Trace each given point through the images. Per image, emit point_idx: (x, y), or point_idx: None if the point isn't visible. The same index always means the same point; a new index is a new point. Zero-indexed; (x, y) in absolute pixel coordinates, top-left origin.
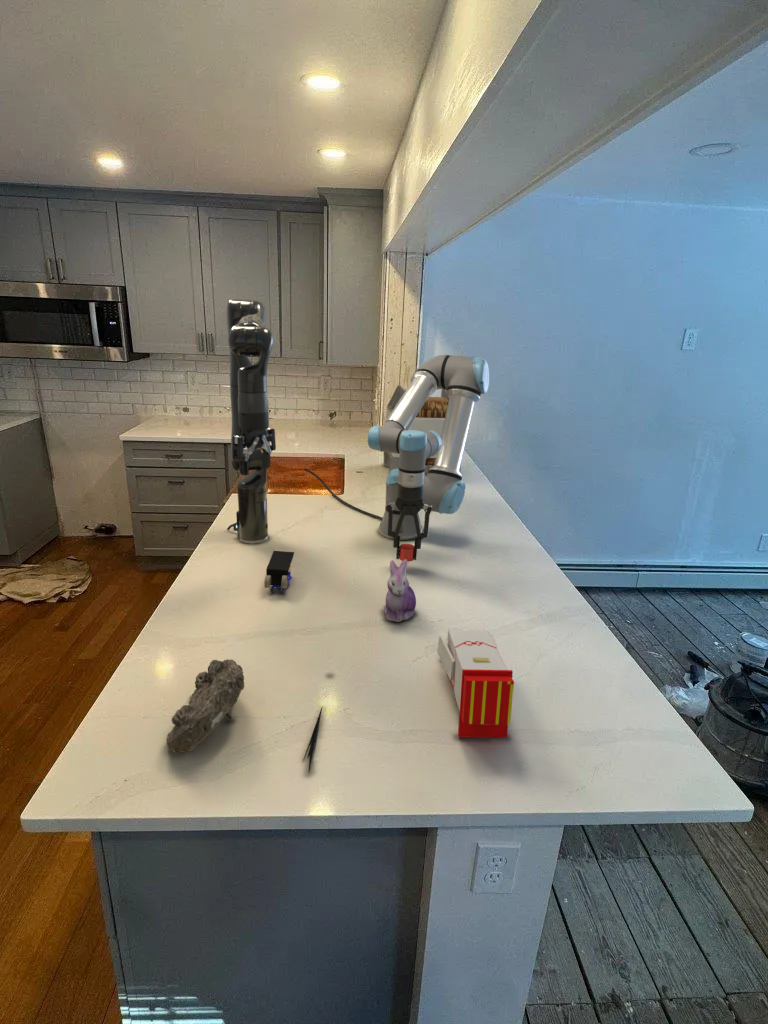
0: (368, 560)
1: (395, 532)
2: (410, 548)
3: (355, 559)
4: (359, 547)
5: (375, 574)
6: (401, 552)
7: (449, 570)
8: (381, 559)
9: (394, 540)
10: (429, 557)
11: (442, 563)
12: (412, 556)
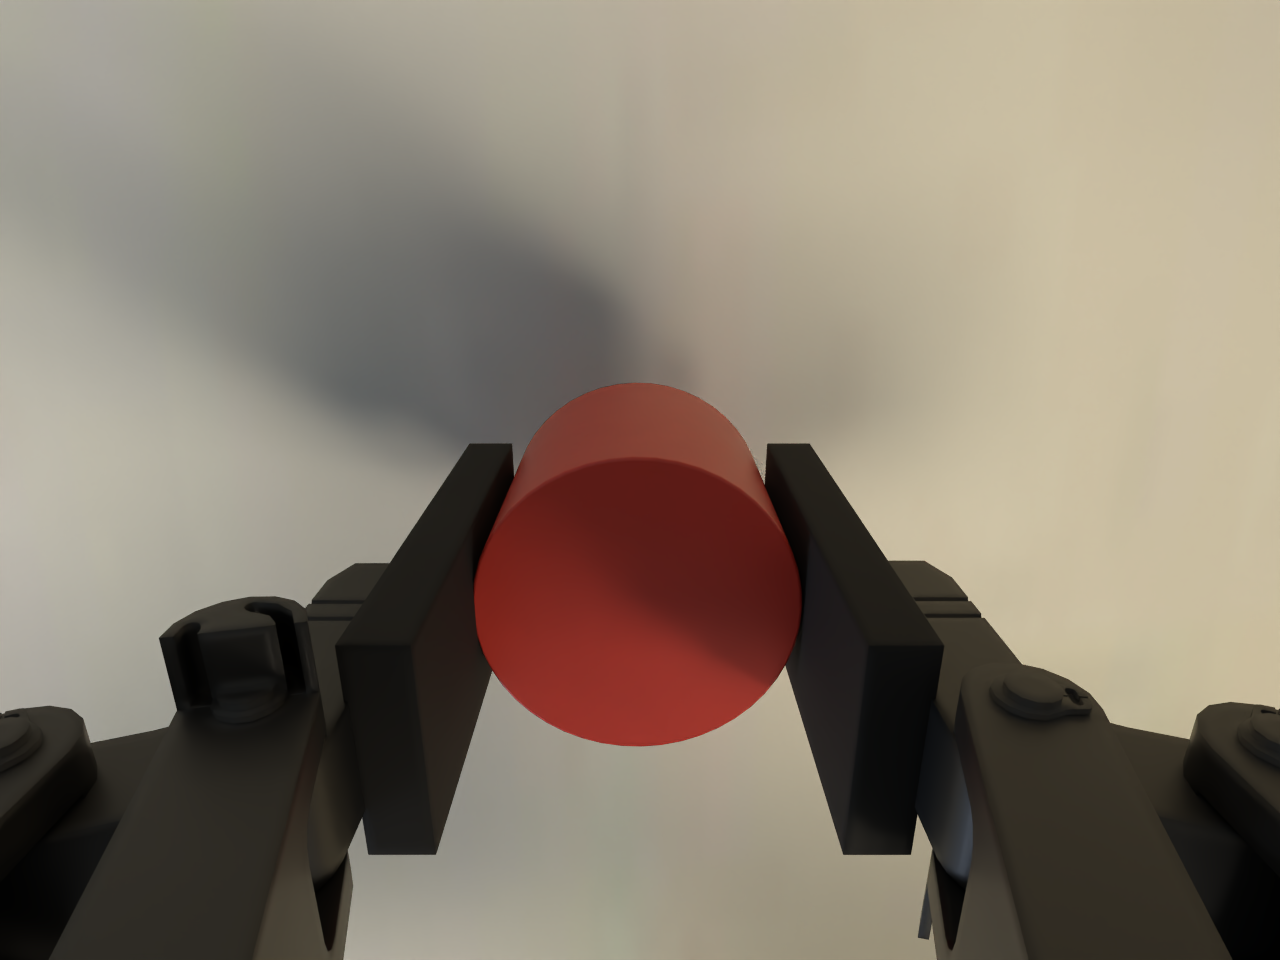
0: (1112, 616)
1: (1132, 816)
2: (559, 520)
3: (1276, 624)
4: None
5: (1082, 202)
6: (747, 468)
7: (50, 460)
8: None
9: (987, 659)
10: None
11: None
12: (528, 453)
